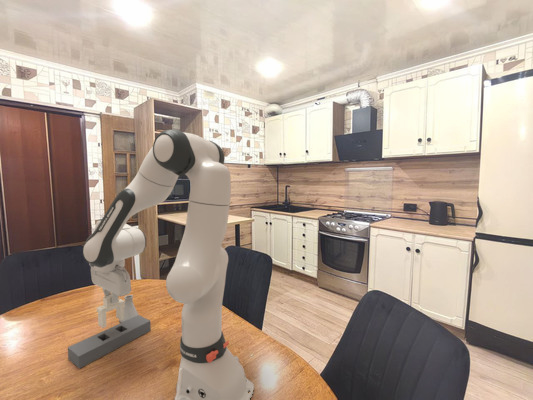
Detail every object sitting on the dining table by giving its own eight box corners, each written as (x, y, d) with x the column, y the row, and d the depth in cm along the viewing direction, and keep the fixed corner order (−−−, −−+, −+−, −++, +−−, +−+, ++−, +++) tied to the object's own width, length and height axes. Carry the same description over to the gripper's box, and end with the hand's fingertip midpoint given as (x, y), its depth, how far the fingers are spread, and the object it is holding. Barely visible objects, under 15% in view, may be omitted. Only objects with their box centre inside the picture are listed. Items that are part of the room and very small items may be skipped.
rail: (150, 330, 98) (150, 320, 98) (79, 368, 78) (78, 356, 78) (138, 324, 103) (138, 314, 102) (68, 358, 82) (67, 347, 82)
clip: (125, 318, 92) (124, 293, 92) (101, 328, 86) (100, 301, 85) (120, 315, 94) (120, 290, 93) (97, 325, 87) (96, 299, 86)
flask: (130, 325, 102) (129, 301, 101) (115, 323, 104) (114, 299, 103) (142, 316, 109) (142, 293, 108) (128, 314, 111) (127, 291, 110)
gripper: (135, 266, 85) (136, 305, 86) (105, 255, 96) (106, 290, 97) (116, 271, 80) (117, 313, 81) (86, 259, 91) (88, 297, 92)
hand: (111, 301), depth 89 cm, fingers closed on clip, 2 cm apart
